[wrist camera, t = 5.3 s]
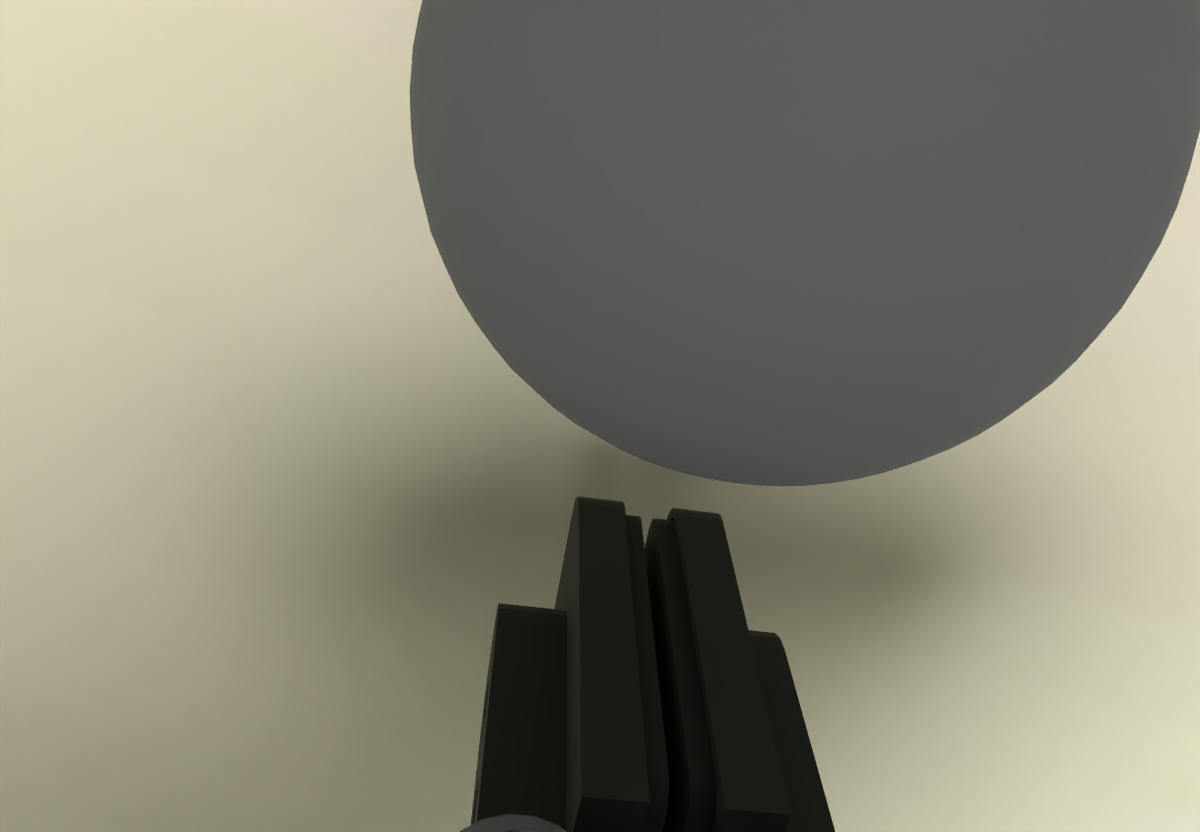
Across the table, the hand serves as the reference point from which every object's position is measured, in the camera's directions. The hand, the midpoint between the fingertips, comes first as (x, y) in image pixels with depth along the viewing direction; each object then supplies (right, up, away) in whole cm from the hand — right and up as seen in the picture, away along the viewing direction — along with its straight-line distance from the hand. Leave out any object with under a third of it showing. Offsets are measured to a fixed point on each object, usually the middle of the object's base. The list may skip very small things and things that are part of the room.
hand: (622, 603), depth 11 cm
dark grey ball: (+1, +4, -4) cm, 6 cm away
